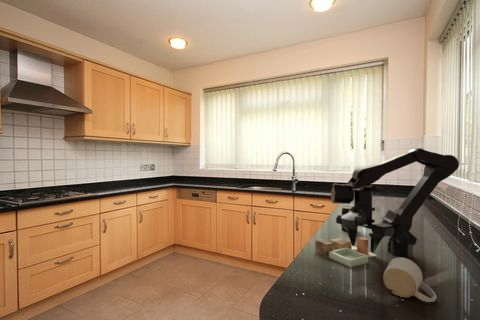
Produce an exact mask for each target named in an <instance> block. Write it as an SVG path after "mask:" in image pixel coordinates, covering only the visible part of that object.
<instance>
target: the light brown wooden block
mask: <svg viewBox="0 0 480 320" xmlns="http://www.w3.org/2000/svg"><path fill="white" fill-rule="evenodd" d="M329 240H330V241H329V242H332V243H333V250H338V249H342V248H349V249H351V246H352V244H351V243H352V242H351V241H350V240H346V239H344V238H341V237H339V238H338V237H337V238H332V239H329Z"/></svg>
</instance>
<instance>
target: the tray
mask: <svg viewBox="0 0 480 320" xmlns="http://www.w3.org/2000/svg"><path fill="white" fill-rule="evenodd" d="M328 259H331V260H332V259H333V260H332V261H335V262H336V263H339V264H341V265H344V266H346V267H348V268H355V267H358V266H362V265H365V264H368V263H369V258H368V256H367V255H364V254H362V253H359V252H357V251H354V250H351V249H349V248H342V249H338V250H333V251H329V258H328Z"/></svg>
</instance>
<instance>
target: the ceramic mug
mask: <svg viewBox="0 0 480 320" xmlns="http://www.w3.org/2000/svg"><path fill="white" fill-rule="evenodd" d="M386 266H387V267H386V268H385V270H384V272H383V278H382V279H383V280H382V281H383V284H384V285H385V288H386V289H388V290H391V291H390V293H391V294H393V295H395V296H396V295H397V296H396V297H398V296H400V297H399V298H402V297H404V299H405V298H411V297H412V296H414V297H416V298H417V299H419V300H420V301H422V302H424V301H425V302H424V303H426V302H434V303H435V301H436V300H437V294H436V293H435V291H434V290H433V288H431V287H430V286H429V285H428V284H426V283H425V282H424V281H423V279H424V278H423V272H422V271H421V269H420V266H418V265H417V263H415V262H414V261H413V260H411V259H410V258H408V259H407V258H402V257H398V256H397V257H395V258H392V259H391V260H390V261H389V263H388V265H386ZM419 288H420V289H422V290H423V291H424V292H425V293H426V294H427V295H428V296H426V295H425V294H423V293H421V292H420V291H418V290H419ZM430 296H431V297H430Z"/></svg>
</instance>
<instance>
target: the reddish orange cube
mask: <svg viewBox="0 0 480 320" xmlns="http://www.w3.org/2000/svg"><path fill="white" fill-rule="evenodd" d="M356 247H357V252H359V253H362V254H368V252H369V239H368V238H366V237H356Z"/></svg>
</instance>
